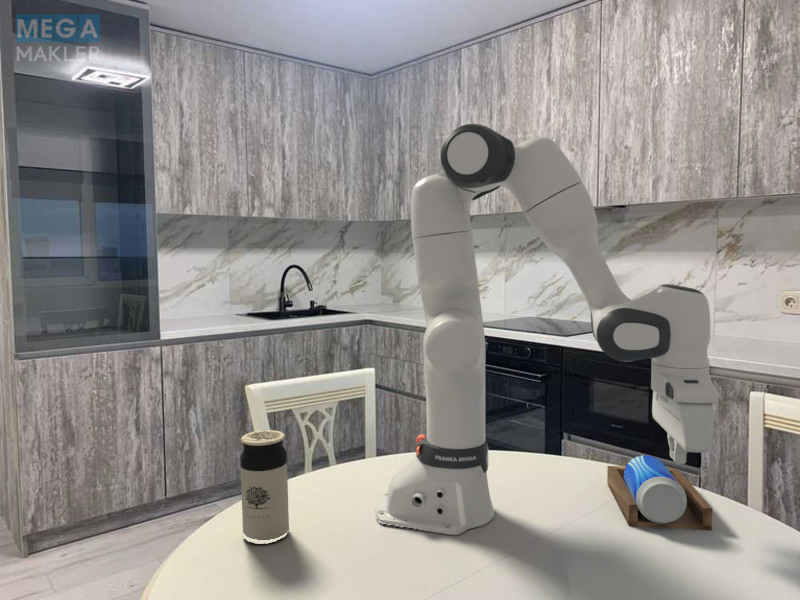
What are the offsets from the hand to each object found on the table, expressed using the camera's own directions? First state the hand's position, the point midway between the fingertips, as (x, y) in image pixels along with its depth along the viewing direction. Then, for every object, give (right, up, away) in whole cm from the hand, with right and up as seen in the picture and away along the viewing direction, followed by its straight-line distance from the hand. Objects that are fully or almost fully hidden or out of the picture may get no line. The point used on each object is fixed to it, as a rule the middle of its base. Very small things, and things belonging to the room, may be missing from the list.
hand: (677, 461), depth 101 cm
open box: (+2, -13, +14) cm, 19 cm away
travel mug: (-71, -15, +4) cm, 73 cm away
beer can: (-1, -8, +2) cm, 9 cm away
